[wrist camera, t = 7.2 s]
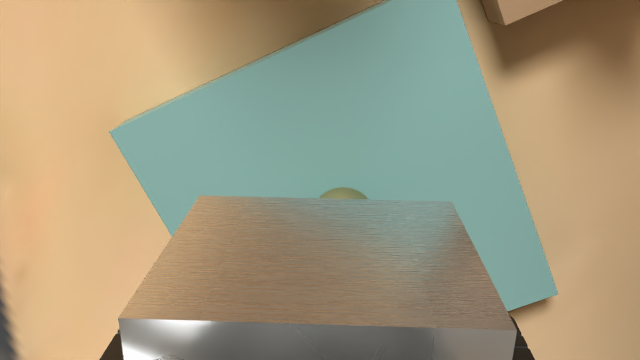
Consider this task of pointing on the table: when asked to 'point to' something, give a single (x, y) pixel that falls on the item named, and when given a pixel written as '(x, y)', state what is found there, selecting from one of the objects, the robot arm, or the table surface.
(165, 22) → the table surface
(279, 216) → the collar
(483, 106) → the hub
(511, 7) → the stand
